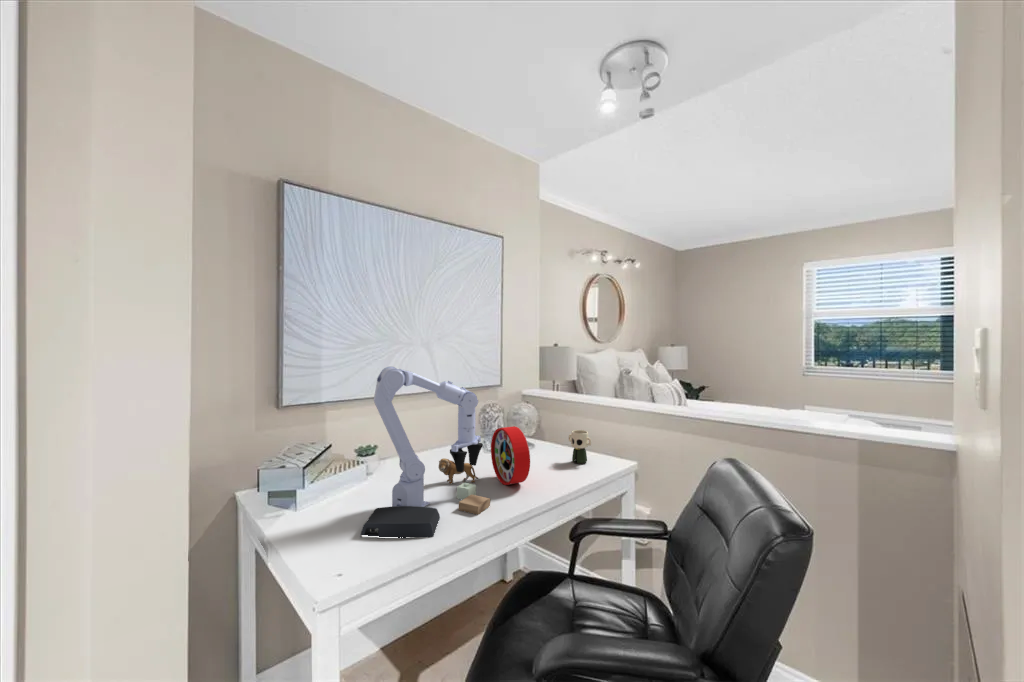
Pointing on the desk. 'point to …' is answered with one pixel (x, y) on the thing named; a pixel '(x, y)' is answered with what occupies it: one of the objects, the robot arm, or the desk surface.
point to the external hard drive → (402, 522)
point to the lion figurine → (450, 470)
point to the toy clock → (510, 455)
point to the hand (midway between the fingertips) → (466, 468)
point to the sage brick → (465, 490)
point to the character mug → (579, 445)
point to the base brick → (474, 504)
